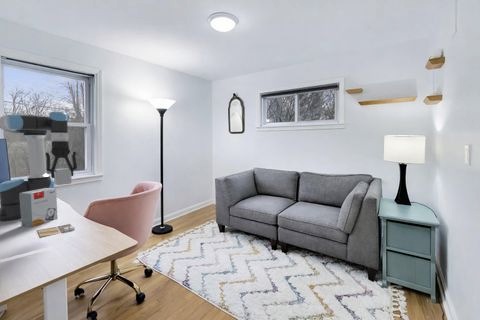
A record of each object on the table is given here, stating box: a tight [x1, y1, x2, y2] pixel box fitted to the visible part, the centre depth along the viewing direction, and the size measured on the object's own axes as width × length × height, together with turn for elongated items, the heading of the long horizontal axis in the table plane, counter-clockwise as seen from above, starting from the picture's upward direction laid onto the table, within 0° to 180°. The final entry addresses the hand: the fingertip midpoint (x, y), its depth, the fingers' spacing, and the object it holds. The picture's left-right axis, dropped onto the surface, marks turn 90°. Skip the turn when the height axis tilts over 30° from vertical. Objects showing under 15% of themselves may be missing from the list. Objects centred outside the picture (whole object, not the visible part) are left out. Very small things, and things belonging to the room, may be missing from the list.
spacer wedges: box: [64, 225, 76, 233], centre depth 127 cm, size 2×4×2 cm, turn 136°
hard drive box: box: [19, 187, 59, 228], centre depth 139 cm, size 16×8×20 cm, turn 168°
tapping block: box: [54, 167, 72, 186], centre depth 132 cm, size 6×6×8 cm
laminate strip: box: [56, 223, 73, 234], centre depth 130 cm, size 12×6×1 cm, turn 46°
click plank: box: [36, 226, 61, 239], centre depth 125 cm, size 12×8×1 cm, turn 46°
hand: (63, 182), depth 132 cm, fingers closed on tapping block, 6 cm apart
